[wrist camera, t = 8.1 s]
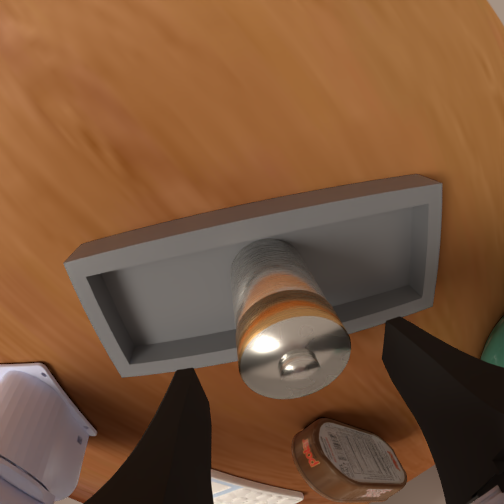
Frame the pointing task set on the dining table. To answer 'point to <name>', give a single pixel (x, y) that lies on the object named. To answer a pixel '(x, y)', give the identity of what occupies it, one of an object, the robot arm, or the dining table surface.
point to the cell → (284, 323)
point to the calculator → (249, 491)
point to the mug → (495, 346)
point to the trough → (228, 246)
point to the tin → (347, 462)
